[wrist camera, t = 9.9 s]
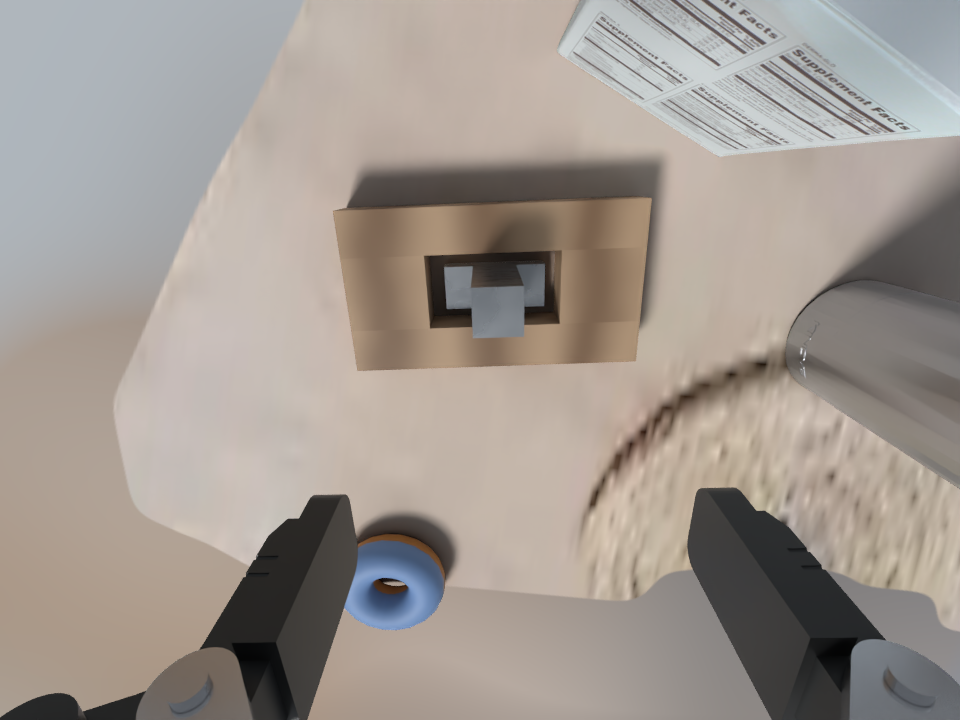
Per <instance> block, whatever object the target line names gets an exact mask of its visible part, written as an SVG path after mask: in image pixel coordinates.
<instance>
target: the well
mask: <svg viewBox="0 0 960 720" xmlns="http://www.w3.org/2000/svg"><path fill="white" fill-rule="evenodd" d="M651 202H652V198H649V197H641V196H625V197H600V198H576V199H552V200H527V201H503V202H479V203H454V204H430V205H406V206H381V207H357V208H344V209H339V210H335V211H333V215H334V222H335V228H336V235H337V241H338V248H339V254H340V261H341V267H342V273H343V280H344V286H345V293H346V299H347V306H348V312H349V319H350V325H351V332H352V338H353V345H354V351H355V358H356V364H357V371H367V370H396V369H425V368H454V367H483V366H512V365H541V364H570V363H599V362H628V361H636V354H637V344H638V333H639V323H640V313H641V303H642V293H643V283H644V273H645V263H646V253H647V242H648V232H649V222H650V212H651ZM533 251H555V264H554V307H553V312H536V313H524V337H500V338H473V329H472V315H454V316H434V306H433V294H432V282H431V269H430V257H429V256H431V255H457V254H482V253H508V252H533Z"/></svg>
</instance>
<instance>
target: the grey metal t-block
mask: <svg viewBox="0 0 960 720" xmlns="http://www.w3.org/2000/svg"><path fill="white" fill-rule="evenodd" d="M444 274H445V289H446V305H447V309H466V308H472V329H473V338H500V337H524V307H528V306H544V289H545V263H544V262H543V260H535V261H506V262H476V263H447V264H445V266H444Z"/></svg>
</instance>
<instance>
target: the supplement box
mask: <svg viewBox="0 0 960 720" xmlns="http://www.w3.org/2000/svg"><path fill="white" fill-rule="evenodd" d="M557 52H558V53H559V54H560V55H561V56H563V57H565V58H566V59H568V60H569V61H571V62H572V63H574V64H575V65H577V66H578V67H580V68H582V69H583V70H585V71H586V72H588V73H589V74H591V75H592V76H594V77H595V78H597V79H598V80H600V81H602V82H603V83H605V84H606V85H608V86H609V87H611V88H612V89H614V90H615V91H617V92H618V93H620V94H622V95H623V96H625V97H626V98H628V99H629V100H631V101H632V102H634V103H635V104H637V105H638V106H640V107H642V108H643V109H645V110H646V111H648V112H649V113H651V114H652V115H654V116H655V117H657V118H658V119H660V120H662V121H663V122H665V123H666V124H668V125H669V126H671V127H672V128H674V129H676V130H677V131H679V132H680V133H682V134H683V135H685V136H687V137H688V138H690V139H691V140H693V141H694V142H696V143H698V144H699V145H701V146H702V147H704V148H705V149H707V150H708V151H710V152H712V153H713V154H715V155H717V156H718V157H721V156H727V155H735V154H746V153H757V152H768V151H779V150H789V149H800V148H813V147H824V146H836V145H847V144H858V143H868V142H879V141H890V140H904V139H918V138H931V137H946V136H960V0H580V2H579V4H578V6H577V8H576V10H575V12H574V14H573V16H572V18H571V20H570V22H569V24H568V26H567V28H566V31H565V33H564V35H563V37H562V39H561V41H560V43H559V45H558V48H557Z"/></svg>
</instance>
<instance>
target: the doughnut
mask: <svg viewBox="0 0 960 720" xmlns="http://www.w3.org/2000/svg"><path fill="white" fill-rule="evenodd" d="M380 578H393V579H397V580H400V581H402V582H403V583H405V584H406V585H403V586H391V585H387V584H384V583H382V582H381V581H379V580H378V579H380ZM444 588H445V571H444V569H443V566H442V564H441V561H440V559H439V557H438V556H437V555H436V554H435V553H434V552H433V550H432V549H431V548H430V547H429V546H427V545H425V544H424V543H422V542H421V541H419V540H417V539H414V538H411V537H408V536H404V535H397V534H384V535H379V536H374V537H370V538H368V539H367V540H365V541H363V542H361V543H359V544H358V560H357V567H356V572H355V576H354V579H353V582H352V585H351V588H350V591H349V594H348V597H347V600H346V603H345V606H344V608H345V609H346V610H347V611H348V612H349V613H350V614H351V615H352V616H353V617H354V618H355V619H357V620H358V621H360V622H362V623H364V624H366V625H368V626H371V627H375V628H378V629H384V630H400V629H405V628H410V627H412V626H414V625H416V624H418V623H421V622H423V621H425V620H426V619H427V618H428V617H429V616H430V615H432V614H433V613H434V612H435V610H436V609H437V607H438V605H439V603H440V601H441V599H442V597H443V593H444Z"/></svg>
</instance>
